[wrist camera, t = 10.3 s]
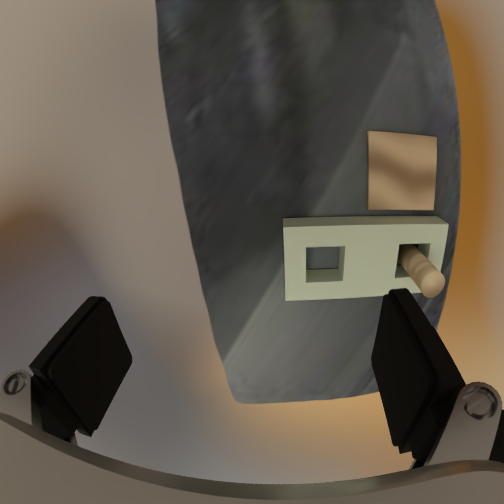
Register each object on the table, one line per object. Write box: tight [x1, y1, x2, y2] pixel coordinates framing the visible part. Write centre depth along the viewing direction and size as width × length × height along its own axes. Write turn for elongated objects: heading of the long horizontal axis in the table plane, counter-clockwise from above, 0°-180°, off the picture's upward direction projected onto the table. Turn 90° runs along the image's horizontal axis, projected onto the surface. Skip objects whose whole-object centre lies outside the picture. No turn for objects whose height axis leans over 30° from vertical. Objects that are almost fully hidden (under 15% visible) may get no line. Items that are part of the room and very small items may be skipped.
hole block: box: [283, 216, 449, 301], centre depth 35 cm, size 10×22×4 cm, turn 94°
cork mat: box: [367, 131, 437, 210], centre depth 32 cm, size 10×10×1 cm
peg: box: [397, 244, 445, 298], centre depth 32 cm, size 3×3×10 cm
